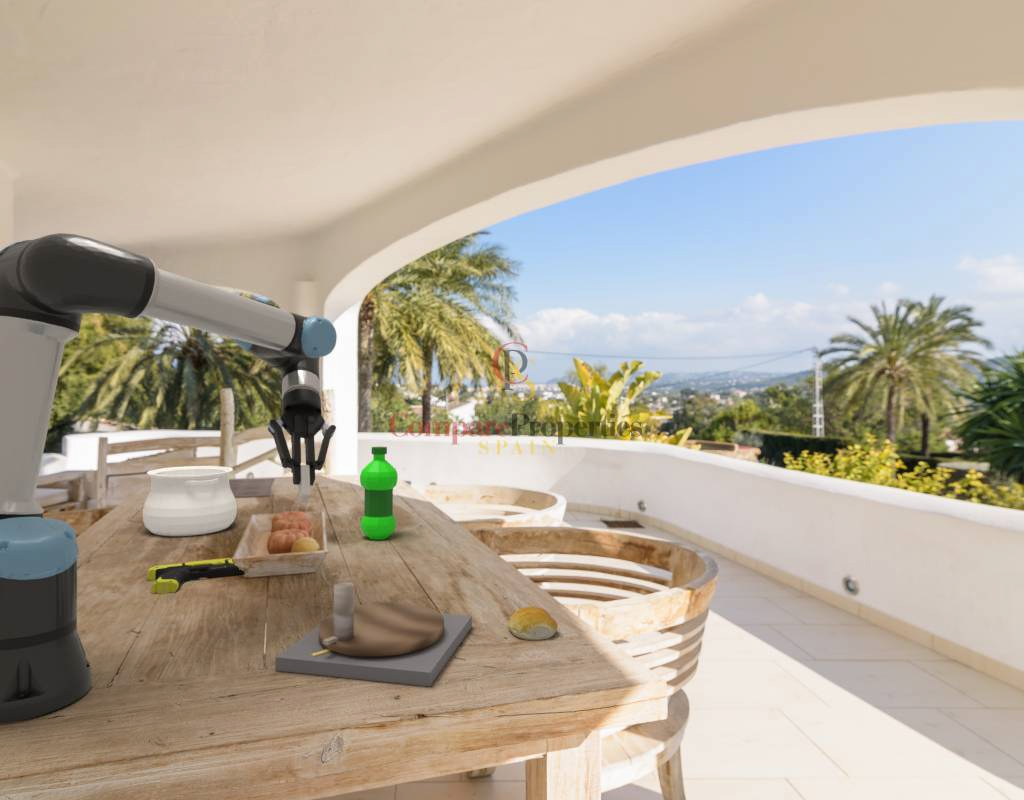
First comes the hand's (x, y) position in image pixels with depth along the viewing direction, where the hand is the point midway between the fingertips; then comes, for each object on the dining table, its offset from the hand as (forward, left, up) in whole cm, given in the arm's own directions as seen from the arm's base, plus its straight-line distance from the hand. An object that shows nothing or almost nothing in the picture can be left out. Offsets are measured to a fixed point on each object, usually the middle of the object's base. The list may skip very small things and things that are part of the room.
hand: (304, 498), depth 122 cm
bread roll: (+3, -42, -22) cm, 48 cm away
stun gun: (+16, +33, -22) cm, 43 cm away
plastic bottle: (+62, +11, -22) cm, 67 cm away
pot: (+59, +67, -22) cm, 92 cm away
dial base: (-10, -19, -22) cm, 31 cm away
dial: (-10, -19, -19) cm, 29 cm away
